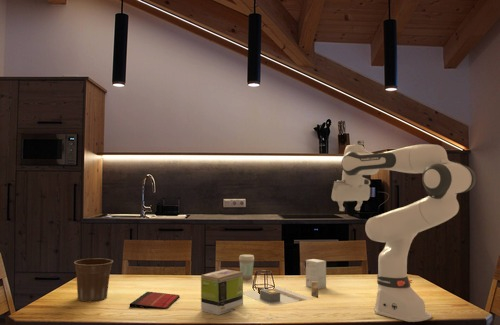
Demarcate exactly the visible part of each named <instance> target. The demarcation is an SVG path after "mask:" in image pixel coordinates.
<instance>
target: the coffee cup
mask: <svg viewBox="0 0 500 325" xmlns="http://www.w3.org/2000/svg"><path fill="white" fill-rule="evenodd" d="M238 261H239V262H238V263H239V272H243V279H244V280H251V279H253V272H254V265H255V256H254V254H250V253H249V254H246V253H245V254H240V255H239V257H238Z"/></svg>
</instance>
